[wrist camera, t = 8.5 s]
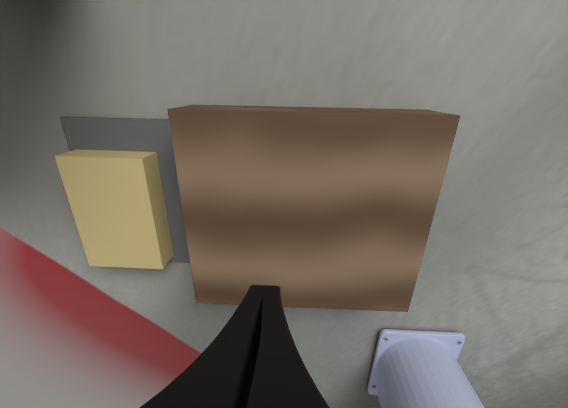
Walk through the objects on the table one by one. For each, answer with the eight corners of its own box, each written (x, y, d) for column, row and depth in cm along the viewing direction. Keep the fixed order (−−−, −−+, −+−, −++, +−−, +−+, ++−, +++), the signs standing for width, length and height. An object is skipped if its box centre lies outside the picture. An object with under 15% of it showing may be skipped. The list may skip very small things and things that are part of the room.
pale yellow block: (89, 265, 22) (105, 252, 24) (163, 269, 22) (173, 254, 23) (54, 155, 18) (76, 149, 20) (142, 158, 18) (156, 152, 20)
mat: (204, 260, 24) (203, 262, 24) (105, 256, 24) (102, 258, 24) (187, 119, 19) (185, 120, 19) (63, 116, 19) (60, 117, 19)
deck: (390, 277, 24) (407, 311, 20) (211, 270, 24) (196, 302, 21) (426, 109, 18) (460, 115, 14) (192, 104, 19) (167, 109, 15)
